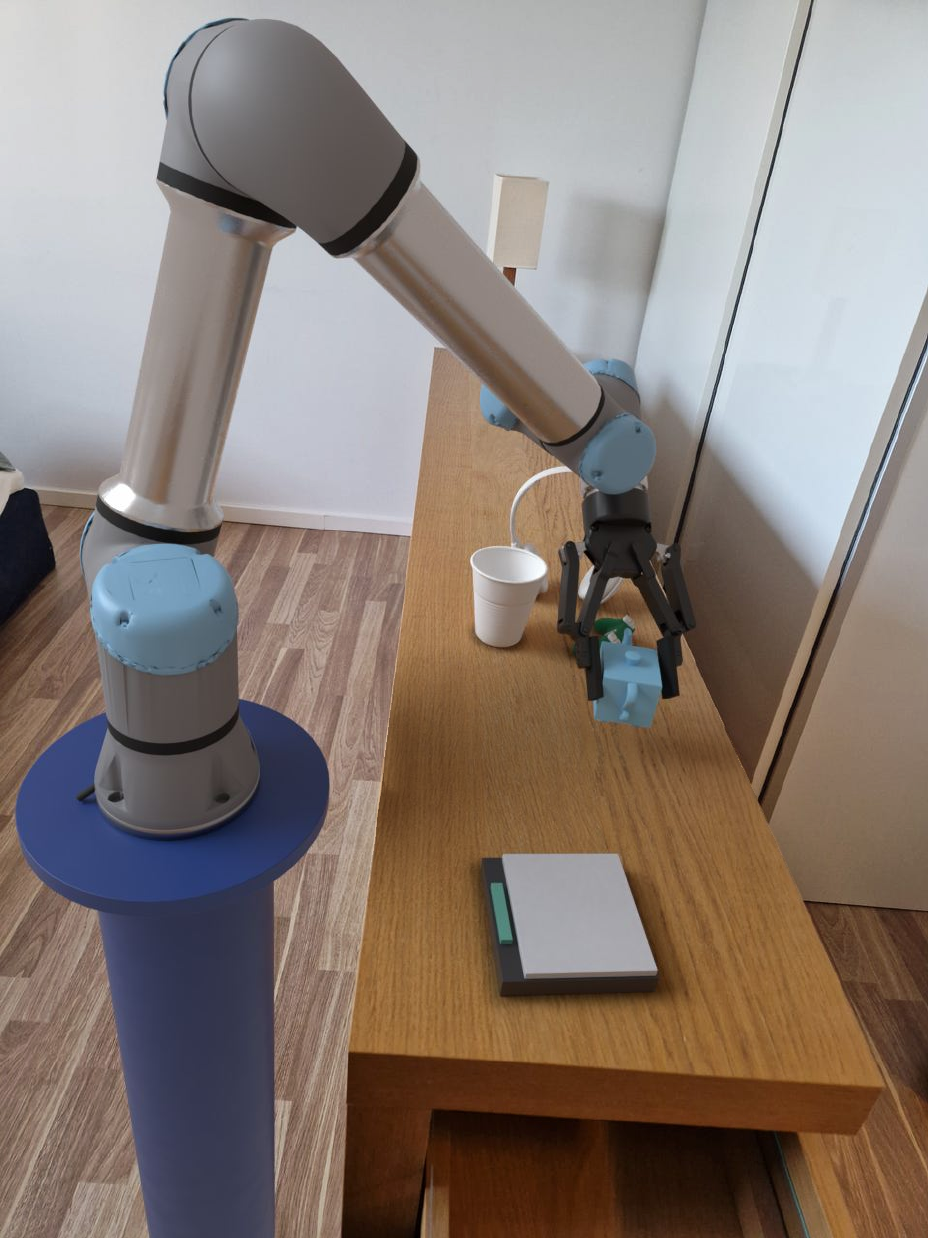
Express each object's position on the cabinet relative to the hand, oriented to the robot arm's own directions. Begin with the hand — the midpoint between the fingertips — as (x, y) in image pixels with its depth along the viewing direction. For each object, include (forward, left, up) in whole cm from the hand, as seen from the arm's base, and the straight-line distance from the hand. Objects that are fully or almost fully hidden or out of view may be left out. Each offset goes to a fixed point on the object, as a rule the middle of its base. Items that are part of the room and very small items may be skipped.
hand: (633, 698), depth 93 cm
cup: (-10, +24, -9) cm, 28 cm away
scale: (-11, -23, -8) cm, 27 cm away
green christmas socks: (+4, +22, -9) cm, 24 cm away
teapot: (0, +3, -4) cm, 5 cm away
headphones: (+1, +35, -9) cm, 36 cm away
